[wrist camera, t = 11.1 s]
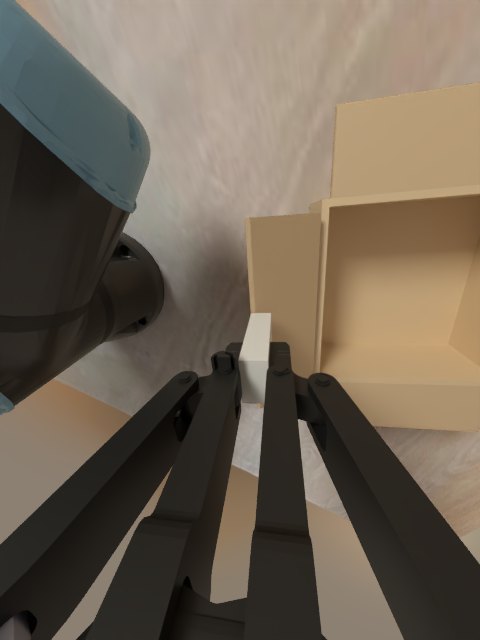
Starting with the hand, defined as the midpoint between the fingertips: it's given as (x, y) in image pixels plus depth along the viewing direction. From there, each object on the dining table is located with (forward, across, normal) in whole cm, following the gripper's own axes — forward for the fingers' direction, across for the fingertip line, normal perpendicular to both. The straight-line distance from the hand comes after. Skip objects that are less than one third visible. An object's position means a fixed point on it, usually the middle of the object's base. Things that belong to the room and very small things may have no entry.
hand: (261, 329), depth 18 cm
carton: (+14, +14, 0) cm, 20 cm away
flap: (+6, +5, 0) cm, 7 cm away
